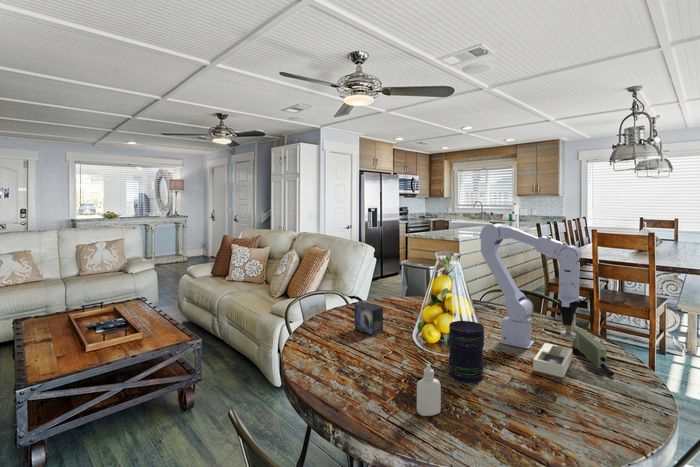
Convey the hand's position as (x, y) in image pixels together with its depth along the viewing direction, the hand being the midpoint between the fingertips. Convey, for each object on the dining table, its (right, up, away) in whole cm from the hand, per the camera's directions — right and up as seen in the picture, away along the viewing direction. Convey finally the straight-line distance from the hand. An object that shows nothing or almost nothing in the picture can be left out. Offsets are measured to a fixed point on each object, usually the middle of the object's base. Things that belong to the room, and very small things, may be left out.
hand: (568, 323), depth 124 cm
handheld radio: (+6, -11, -3) cm, 13 cm away
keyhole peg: (0, -5, 0) cm, 5 cm away
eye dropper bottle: (-52, -14, -32) cm, 63 cm away
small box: (-64, -10, +26) cm, 70 cm away
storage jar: (-38, -12, -13) cm, 42 cm away
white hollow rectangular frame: (-8, -11, -7) cm, 15 cm away
